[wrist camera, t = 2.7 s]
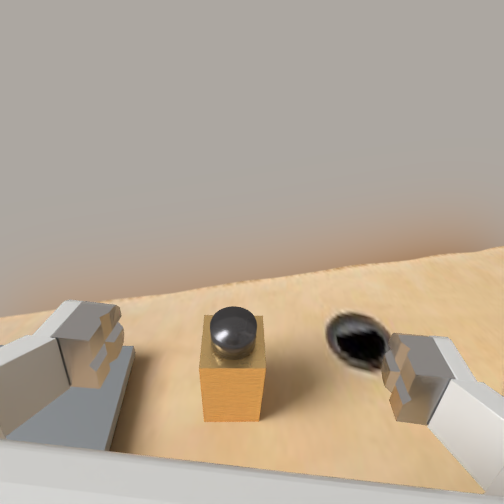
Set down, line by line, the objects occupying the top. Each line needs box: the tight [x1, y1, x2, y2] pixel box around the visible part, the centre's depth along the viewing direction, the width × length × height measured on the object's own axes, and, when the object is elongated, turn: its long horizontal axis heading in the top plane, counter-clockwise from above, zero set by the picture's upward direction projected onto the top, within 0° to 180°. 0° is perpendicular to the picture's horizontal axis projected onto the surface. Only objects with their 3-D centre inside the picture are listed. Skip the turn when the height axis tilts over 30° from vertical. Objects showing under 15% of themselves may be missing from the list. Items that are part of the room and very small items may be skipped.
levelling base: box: [0, 345, 135, 451], centre depth 28 cm, size 14×16×2 cm
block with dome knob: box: [199, 307, 266, 422], centre depth 30 cm, size 5×5×11 cm
